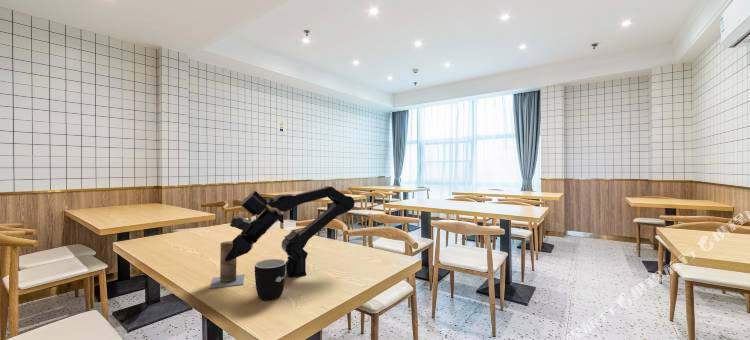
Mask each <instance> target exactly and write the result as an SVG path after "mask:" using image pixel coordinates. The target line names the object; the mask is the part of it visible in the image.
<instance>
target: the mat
mask: <svg viewBox="0 0 750 340" xmlns="http://www.w3.org/2000/svg"><path fill="white" fill-rule="evenodd" d="M244 279H245V274H236V281H234V282H231V283H221V282H220V276H217V277H213V279H212V281H211V283H210V286H209V289H218V288H227V287H234V286H235V287H236V286H242V285H243V286H244V282H245V281H244Z"/></svg>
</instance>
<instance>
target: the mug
mask: <svg viewBox="0 0 750 340" xmlns="http://www.w3.org/2000/svg"><path fill="white" fill-rule="evenodd" d="M254 280H255V282H254V283H255V288H256V294H257V297H258V299H259V300H261V301H265V302H269V301H275V300H277V299H280V298H281V296H282V295H283V291H284V288H285V282H286V281H285V280H286V260H284V259H279V258H277V259H276V258H273V259H272V258H270V259H264V260H261V261H258V262H256V263H255V264H254Z"/></svg>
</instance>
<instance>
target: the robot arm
mask: <svg viewBox="0 0 750 340" xmlns="http://www.w3.org/2000/svg"><path fill="white" fill-rule="evenodd" d="M325 198H328V199H329V200H330V201H332V202H331V205H330V206H329V208H327V209H326V210H325V211H324V212H323V213H321V215H319V216H318V217H316V218H315V219H313V221H311V222H310V223H308V224H307V225H306V226H304V228H302V229H301V230H299V231H296V230H291V232H289V233H288V234H287V235H284V236H283V237H284V239H282V241H281V249H282V250H283V252H285V253H286V255H287V260H285V262H286V273H285V275H287V277H288V278H293V277H301V276H303V277H304V276H307V272H306V269H307V268H306V265H307V264H306V260H307V258H308V255H309V252H308V251H306V250H305V249H304V248H305V247H306V246H307V244H308V242H309V240H310V239H312V237H314V236H315V235H316V234H317V233H319V232H320V231H321V230H322V229H324V228H325V227H326V226H327V225H329V224H330V223H331V222H332V221H334V219H336V218H337V217H338V216H341V215H344V214H346V213H348V212H349V211H351V210H353V209H354V208H355V203H356V202H355V199H354V197H352V196H351V195H350V196H349V195H346V194H345V193H342V192H341V191H339V190H337V189H336V188H335V187H333V186H329V185H328V186H327V185H326V186H324V187H321V188H317V189H312V190H307V191H303V192H300V193H287V194H286V193H283V194H276V195H275V196H274V197H273V198H270V199H265V198H264V197H263V196H261V195H260V193H259V192H258V191H255V190H254V191H252V193H251V194H249V195H247V196H246V197H245V198H244V199H243V200H242V201H241V203H240V205H239V206H241V207H242V208H243V209H244V211H247V212H248V213H249V214H250V215H252V216H257V217H256V218H255V219H253V220H252V221H251V220H249V219H246V218H245V217H242V216H239V215H234V216H233V218H232V220H231V222H230V223H229V226H230V227H231V228H236V229H239V230H241V232H240V234H238V235H236V237H235V238H233V240H231V241H232V243H233V248H232V249H231V251H230V252H229V254H228V255H227V257H226V258H225V261H226V262H227V261H230V260H232V259H234V258H236V259H237V258H238V257H241V256H244V255H247V254H248V253H249V252H250V251H251V250H252V249H253V248H254V244H256V243H257V242H258V241H259V240H260V238H262V236H264V235H265V234H266V233H267V231H268V230H270V229H271V228H272V227H273V226H274V225H275V223H277V222H278V221H279V223H282V224H284V219H285V218H284V217H285V214H284V212H288V211H291V210H292V209H294V208H295V209H296V207H298V206H300V205H302V204H305V203H309V202H313V201H317V200H318V201H319V200H322V199H325ZM269 207H270V208H269ZM271 208H273V209H271ZM279 212H283V213H279Z"/></svg>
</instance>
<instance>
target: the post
mask: <svg viewBox="0 0 750 340" xmlns="http://www.w3.org/2000/svg"><path fill="white" fill-rule="evenodd" d="M232 241H233V240H229V241H228V240H227V241H222V242H220V259H219V260H220V263H219V264H220V266H219V267H220V269H219V271H220V272H219V273H220V274H219V275H220V276H219V277H220V282H221V283H231V282H234V281H236V275H237V258H234V259H232V260H230V261H227V262H226V261H225V258H226V257H227V255H228V254H229V252H230V251H231V249H232V248H233V243H232Z"/></svg>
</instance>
